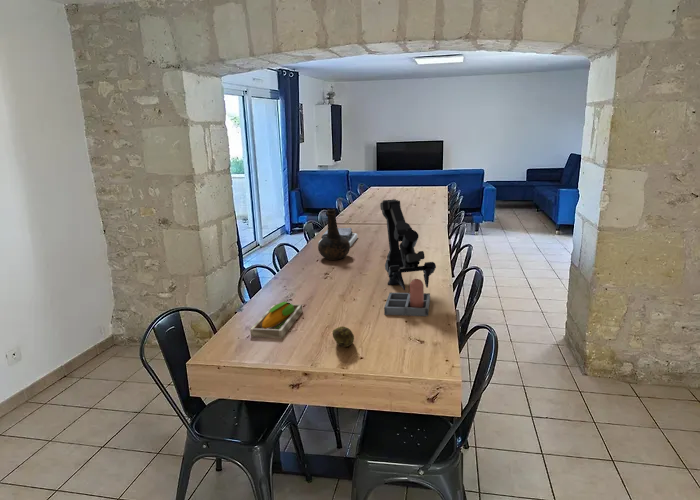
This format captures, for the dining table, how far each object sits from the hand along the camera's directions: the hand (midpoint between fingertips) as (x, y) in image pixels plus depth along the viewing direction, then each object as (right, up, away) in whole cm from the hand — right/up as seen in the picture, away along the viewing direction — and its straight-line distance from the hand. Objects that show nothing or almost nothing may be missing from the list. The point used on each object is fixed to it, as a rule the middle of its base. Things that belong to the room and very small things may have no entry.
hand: (416, 288), depth 191 cm
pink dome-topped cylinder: (+1, -9, +1) cm, 9 cm away
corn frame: (-54, -13, -3) cm, 56 cm away
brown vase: (-35, +11, +82) cm, 89 cm away
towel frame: (-33, +20, +116) cm, 122 cm away
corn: (-54, -14, -4) cm, 56 cm away
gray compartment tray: (-2, -8, +6) cm, 10 cm away
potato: (-28, -18, -24) cm, 41 cm away
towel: (-34, +20, +116) cm, 122 cm away
